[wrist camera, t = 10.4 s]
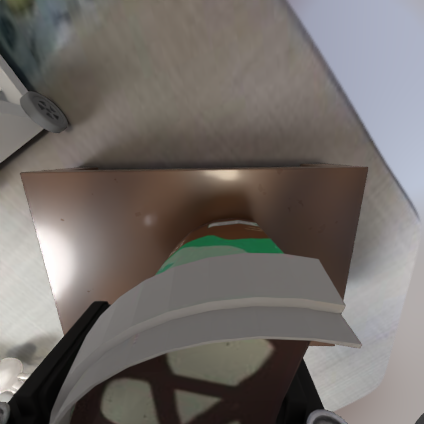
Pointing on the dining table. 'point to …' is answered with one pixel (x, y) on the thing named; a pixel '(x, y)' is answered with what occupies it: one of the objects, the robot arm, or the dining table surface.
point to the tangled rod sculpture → (11, 374)
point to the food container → (205, 335)
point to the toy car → (23, 113)
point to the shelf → (181, 221)
